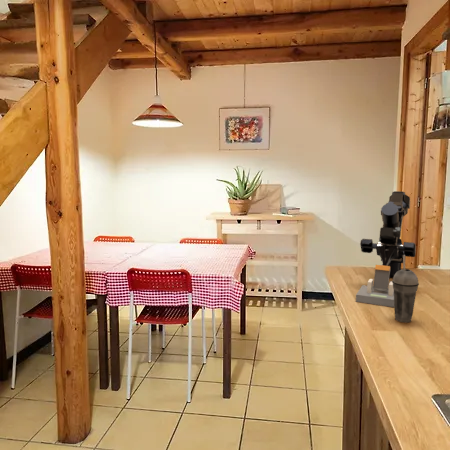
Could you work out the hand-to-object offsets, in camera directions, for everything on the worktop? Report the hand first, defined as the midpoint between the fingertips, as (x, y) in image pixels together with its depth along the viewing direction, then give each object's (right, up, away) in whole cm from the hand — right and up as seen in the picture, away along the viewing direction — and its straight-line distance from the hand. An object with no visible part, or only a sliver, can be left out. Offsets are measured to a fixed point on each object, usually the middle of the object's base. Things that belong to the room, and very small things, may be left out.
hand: (384, 267), depth 145 cm
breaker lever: (-4, -7, -6) cm, 10 cm away
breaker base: (-4, -11, -5) cm, 12 cm away
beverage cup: (-3, -14, -23) cm, 27 cm away
